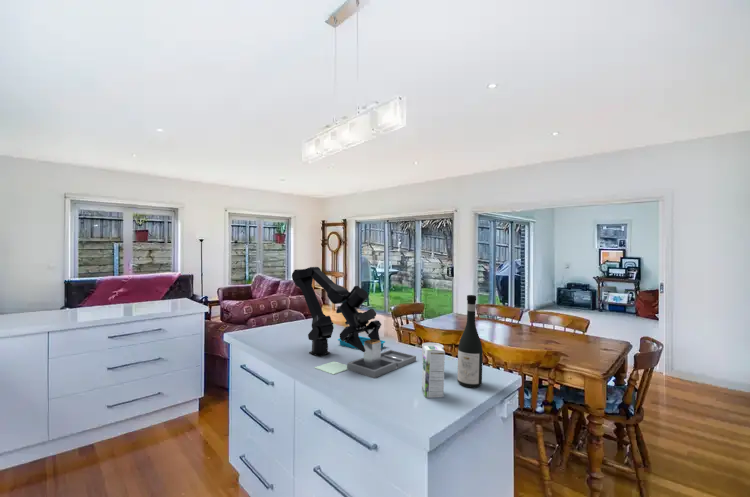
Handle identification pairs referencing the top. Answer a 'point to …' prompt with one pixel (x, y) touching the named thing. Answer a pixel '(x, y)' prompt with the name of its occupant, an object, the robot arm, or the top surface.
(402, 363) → the grey compartment tray
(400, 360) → the rod
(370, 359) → the block
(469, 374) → the wine bottle
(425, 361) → the syrup box
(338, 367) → the mat
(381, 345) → the ice cube tray
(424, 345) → the white cup
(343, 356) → the top surface
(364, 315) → the robot arm
